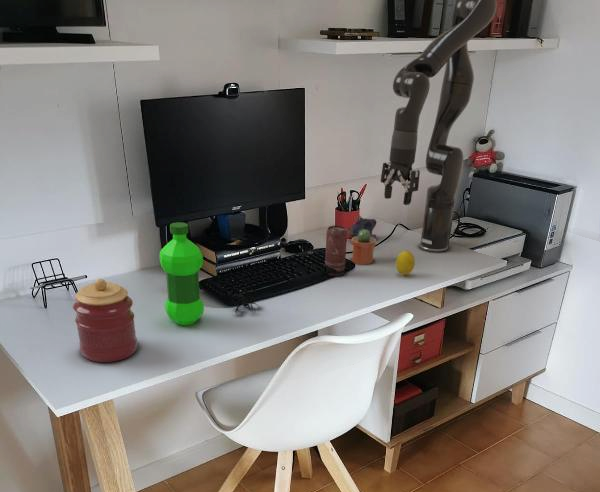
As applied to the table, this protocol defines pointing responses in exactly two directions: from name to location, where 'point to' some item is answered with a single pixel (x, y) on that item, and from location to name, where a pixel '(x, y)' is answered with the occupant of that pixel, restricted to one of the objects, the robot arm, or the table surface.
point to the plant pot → (363, 247)
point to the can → (336, 248)
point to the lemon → (405, 262)
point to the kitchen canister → (105, 322)
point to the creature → (240, 301)
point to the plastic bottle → (182, 276)
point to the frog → (363, 227)
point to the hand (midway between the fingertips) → (396, 201)
